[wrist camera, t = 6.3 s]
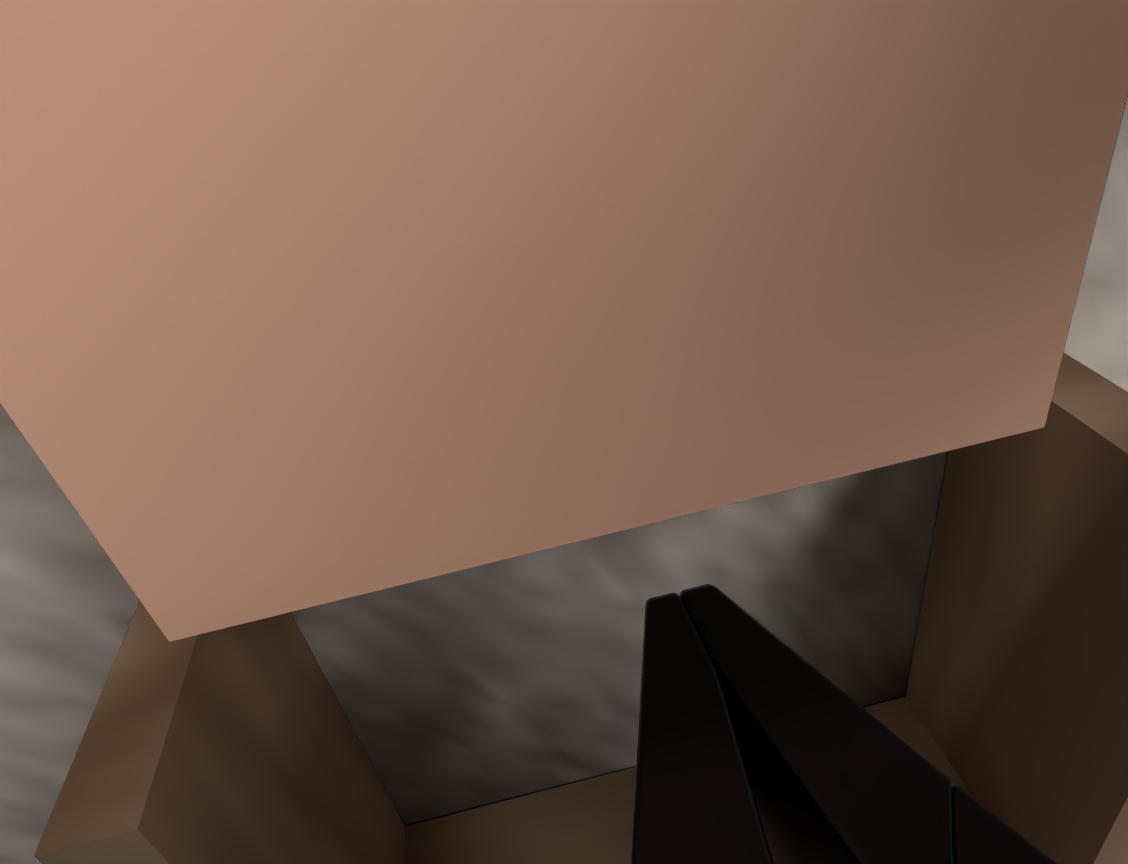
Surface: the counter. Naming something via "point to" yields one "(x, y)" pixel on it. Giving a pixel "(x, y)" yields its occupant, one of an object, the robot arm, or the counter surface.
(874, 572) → the counter surface
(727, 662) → the robot arm
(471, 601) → the counter surface
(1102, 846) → the walnut stall
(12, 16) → the terracotta block
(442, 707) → the counter surface
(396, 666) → the counter surface
